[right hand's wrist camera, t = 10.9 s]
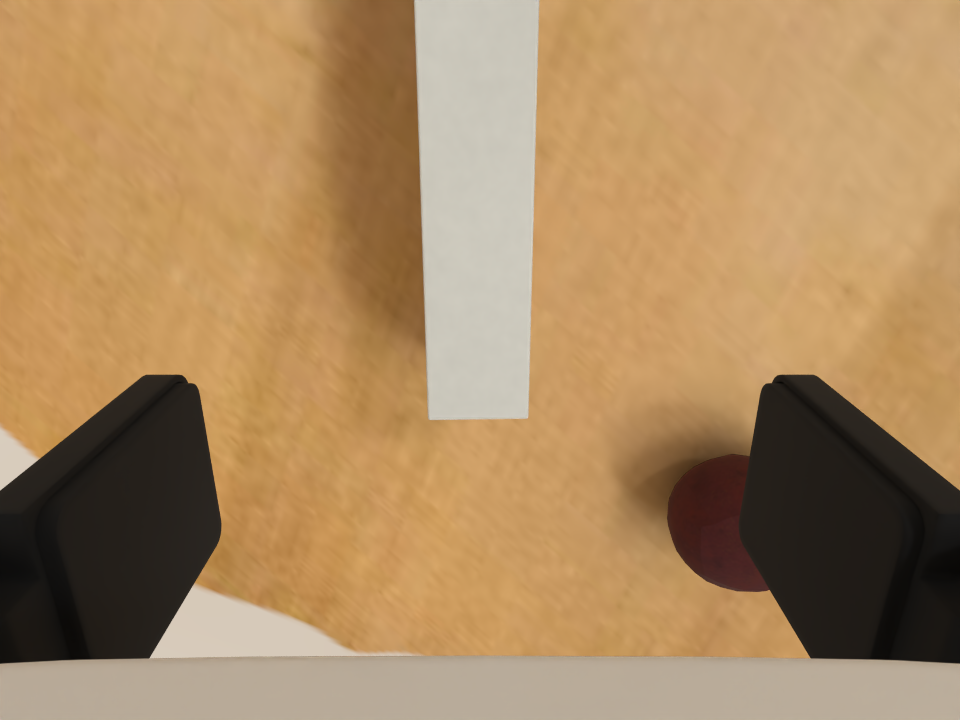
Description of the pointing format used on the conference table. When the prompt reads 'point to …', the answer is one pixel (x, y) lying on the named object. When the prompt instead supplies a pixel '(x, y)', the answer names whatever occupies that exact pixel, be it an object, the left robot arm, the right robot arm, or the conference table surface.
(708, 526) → the potato
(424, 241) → the bar
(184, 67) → the conference table surface
